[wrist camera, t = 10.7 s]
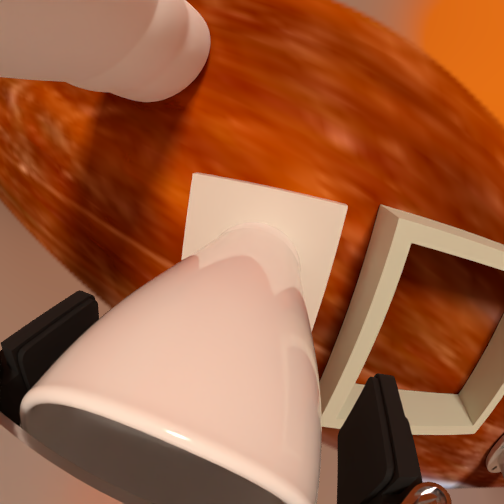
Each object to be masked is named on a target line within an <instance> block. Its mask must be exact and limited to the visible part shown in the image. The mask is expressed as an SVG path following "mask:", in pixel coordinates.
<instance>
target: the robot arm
mask: <svg viewBox="0 0 504 504" xmlns="http://www.w3.org/2000/svg"><path fill="white" fill-rule="evenodd" d="M98 314H99V313H98V303H97V301H95V297H94V296H93V295H91V294H88V293H85V292H83V291H77V292H76V293H74V294H72V295H71V296H69V297H68V298H66V299H65V300H63V301H62V302H60V303H59V304H57V305H56V306H54V307H52V308H51V309H49V310H48V311H46V312H45V313H44V314H42V315H40V316H39V317H37V318H36V319H35V320H33V321H32V322H30V323H29V324H27V325H26V326H24V327H23V328H21V329H20V330H18V331H17V332H16V333H14V334H13V335H11V336H10V337H9V338H7V339H6V340H4V341H3V342H1V346H2V350H1V351H0V504H155V503H152V502H150V501H148V500H145V499H143V498H140V497H138V496H136V495H134V494H131V493H129V492H127V491H125V490H123V489H120V488H118V487H116V486H114V485H112V484H110V483H108V482H106V481H104V480H102V479H100V478H99V477H97V476H95V475H93V474H91V473H89V472H88V471H86V470H84V469H82V468H81V467H79V466H77V465H75V464H74V463H72V462H70V461H69V460H67V459H65V458H64V457H62V456H61V455H59V454H58V453H56V452H54V451H53V450H51V449H50V448H48V447H47V446H45V445H44V444H43V443H41V442H40V441H38V440H37V439H35V438H34V437H33V436H31V435H30V434H29V433H27V432H26V431H25V430H23V428H22V425H21V421H20V404H21V401H22V399H23V397H24V396H25V394H26V393H27V392H28V391H29V390H30V389H31V388H32V387H33V386H34V385H35V383H36V382H37V381H38V380H39V379H40V378H41V377H42V376H43V374H44V373H45V372H46V371H47V370H48V369H49V368H50V367H51V366H52V364H53V363H54V362H55V361H56V360H57V359H58V358H59V357H60V356H61V355H62V354H63V353H64V352H65V351H66V350H67V349H68V348H69V347H70V346H71V345H72V344H73V343H74V342H75V341H76V340H77V339H78V338H79V337H80V336H81V335H82V334H83V333H84V332H85V331H86V330H87V329H88V328H89V327H91V326H92V325H93V324H94V323H95V322H96V321H97V320H98V319H99V315H98ZM486 466H487V469H488V471H489V472H492V473H498V472H502V475H503V478H504V435H503V436H502V437H501V438H500V439H499V440H498V442H497V443H496V444H495V445H494V447H493V448H492V449H491V451H490V452H489V454H488V456H487V459H486ZM337 487H338V488H337V504H451V498H450V495H449V493H448V492H447V490H446V489H445V488H443V487H442V486H441V485H439V484H436V483H433V482H424V483H423V482H422V477H421V472H420V467H419V462H418V458H417V453H416V449H415V445H414V440H413V436H412V432H411V428H410V424H409V421H408V419H407V418H406V417H405V414H404V410H403V406H402V402H401V399H400V395H399V391H398V388H397V384H396V381H395V378H394V376H391V375H384V374H376V375H375V376H374V377H370V378H369V379H368V380H367V382H366V384H365V386H364V388H363V390H362V392H361V394H360V396H359V397H358V399H357V401H356V403H355V405H354V406H353V408H352V410H351V412H350V414H349V415H348V417H347V419H346V420H345V422H344V424H343V426H342V427H341V429H340V431H339V434H338V486H337Z"/></svg>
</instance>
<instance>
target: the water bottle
mask: <svg viewBox="0 0 504 504" xmlns="http://www.w3.org/2000/svg"><path fill="white" fill-rule="evenodd" d="M209 50H210V33H209V29H208V26H207V24H206V22H205V21H204V19H203V18H202V16H201V15H200V14H199V13H198V12H197V11H196V10H195V8H194V7H192V6H191V5H190V4H189V3H188V2H187V1H186V0H0V77H7V78H19V79H30V80H44V81H66V82H67V83H69V84H71V85H74V86H76V87H79V88H83V89H87V90H92V91H98V92H110V93H112V94H115V95H117V96H120V97H123V98H126V99H130V100H134V101H140V102H155V101H160V100H164V99H167V98H169V97H172V96H174V95H175V94H177V93H179V92H181V91H182V90H183V89H185V88H186V87H187V86H188V85H190V84H191V83H192V82H193V81H194V79H195V78H196V77H197V76H198V74H199V73H200V72H201V70H202V68H203V67H204V65H205V63H206V60H207V58H208V54H209Z"/></svg>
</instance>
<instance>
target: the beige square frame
mask: <svg viewBox="0 0 504 504" xmlns="http://www.w3.org/2000/svg"><path fill="white" fill-rule="evenodd" d="M411 243H413V244H417V245H420V246H424V247H427V248H431V249H434V250H438V251H441V252H445V253H448V254H451V255H455V256H458V257H461V258H465V259H468V260H471V261H474V262H478V263H481V264H484V265H487V266H490V267H493V268H497V269H500V270H503V271H504V245H503V244H500V243H497V242H495V241H492V240H489V239H486V238H484V237H481V236H478V235H475V234H473V233H470V232H467V231H464V230H461V229H458V228H455V227H452V226H449V225H446V224H443V223H440V222H437V221H434V220H431V219H428V218H424V217H421V216H418V215H415V214H411V213H408V212H405V211H401V210H398V209H394V208H391V207H387V206H384V205H380V206H379V210H378V214H377V218H376V221H375V225H374V229H373V232H372V236H371V239H370V243H369V246H368V249H367V253H366V256H365V259H364V263H363V266H362V269H361V272H360V275H359V278H358V281H357V284H356V287H355V290H354V293H353V296H352V299H351V302H350V305H349V308H348V311H347V313H346V316H345V319H344V322H343V324H342V327H341V330H340V332H339V335H338V338H337V340H336V343H335V345H334V348H333V350H332V353H331V355H330V358H329V360H328V363H327V365H326V368H325V370H324V373H323V375H322V377H321V380H320V382H319V383H320V395H321V414H322V426H323V427H330V428H338V429H341V427H342V426H343V424H344V422H345V420H346V419H347V417H348V415H349V414H350V412H351V410H352V408H353V406H354V405H355V403H356V401H357V399H358V397H359V396H360V394H361V392H362V390H363V388H364V386H365V385H361V384H355V382H356V380H357V378H358V376H359V374H360V372H361V370H362V368H363V366H364V363H365V361H366V359H367V357H368V355H369V353H370V350H371V348H372V346H373V344H374V342H375V339H376V337H377V335H378V332H379V330H380V328H381V325H382V323H383V320H384V318H385V316H386V313H387V311H388V308H389V305H390V303H391V300H392V298H393V295H394V292H395V290H396V287H397V284H398V282H399V279H400V276H401V273H402V270H403V267H404V264H405V261H406V258H407V255H408V252H409V249H410V246H411ZM398 391H399V395H400V399H401V402H402V406H403V410H404V414H405V417H406V418H407V419H408V421H409V424H410V428H411V432H412V435H455V434H475V432H476V431H477V430H478V429H479V427H480V426H481V425H482V424H483V422H484V421H485V420H486V418H487V417H488V416H489V415H490V413H491V412H492V411H493V409H494V408H495V406H496V405H497V404H498V402H499V401H500V399H501V398H502V397H503V395H504V314H503V316H502V318H501V320H500V322H499V324H498V326H497V328H496V330H495V332H494V334H493V336H492V338H491V340H490V342H489V344H488V346H487V348H486V350H485V351H484V353H483V355H482V357H481V359H480V360H479V362H478V364H477V366H476V367H475V369H474V371H473V372H472V374H471V376H470V377H469V379H468V380H467V382H466V384H465V385H464V387H463V388H462V390H461V391H460V393H459V394H443V393H430V392H418V391H408V390H399V389H398Z"/></svg>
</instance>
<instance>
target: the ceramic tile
mask: <svg viewBox="0 0 504 504" xmlns="http://www.w3.org/2000/svg"><path fill="white" fill-rule="evenodd" d="M347 208H348V206H347V205H346V204H344V203H340V202H336V201H332V200H328V199H324V198H319V197H315V196H311V195H307V194H302V193H298V192H294V191H289V190H285V189H280V188H275V187H271V186H266V185H261V184H256V183H251V182H246V181H241V180H236V179H231V178H226V177H220V176H215V175H210V174H204V173H198V172H197V173H193V177H192V183H191V190H190V197H189V204H188V211H187V219H186V227H185V235H184V243H183V252H182V260H183V259H185V258H186V257H188V256H190V255H191V254H193V253H194V252H196V251H198V250H199V249H201V248H202V247H204V246H205V245H207V244H208V243H210V242H212V241H213V240H215V239H216V238H217V237H218V236H219V235H220V234H221V233H222V232H224V231H225V230H226V229H228V228H230V227H232V226H234V225H236V224H239V223H244V222H262V223H266V224H269V225H272V226H274V227H276V228H278V229H279V230H281V231H282V232H283V233H284V234H286V235H287V236H288V237H289V239H290V240H291V241H292V243H293V244H294V246H295V247H296V249H297V252H298V255H299V258H300V264H301V280H302V285H303V291H304V296H305V301H306V306H307V312H308V317H309V322H310V327H311V332H312V329H313V326H314V323H315V320H316V317H317V314H318V310H319V307H320V304H321V301H322V298H323V295H324V291H325V288H326V285H327V281H328V278H329V275H330V271H331V268H332V264H333V261H334V257H335V254H336V250H337V246H338V243H339V239H340V235H341V232H342V228H343V224H344V220H345V216H346V212H347Z"/></svg>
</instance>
